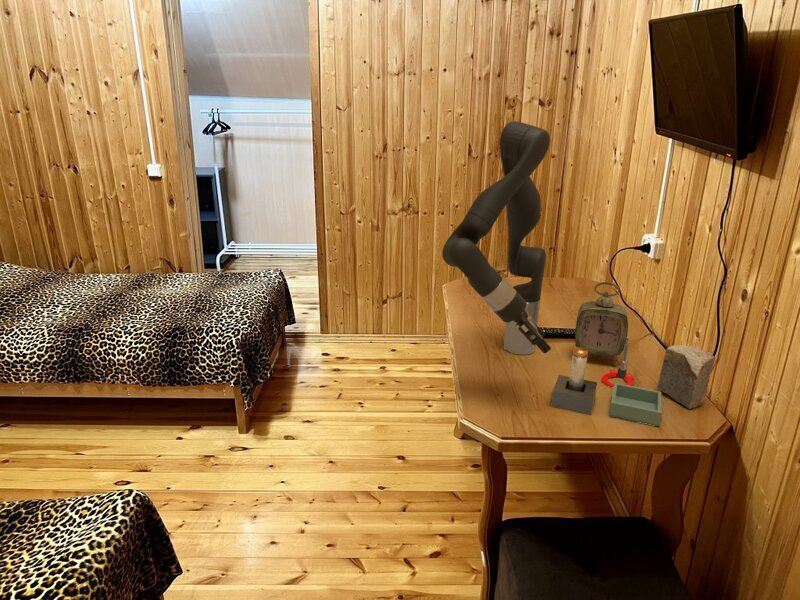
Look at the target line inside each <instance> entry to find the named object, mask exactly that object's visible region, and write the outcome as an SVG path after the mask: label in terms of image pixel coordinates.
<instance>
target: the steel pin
mask: <svg viewBox="0 0 800 600" xmlns="http://www.w3.org/2000/svg"><path fill="white" fill-rule="evenodd" d="M572 349H573V350H572V357H571V366H570V371H569V377H570V378H569V385H568V389H569V390H574V391H579V392H582V389H583V382H584V380H585V374H586V368H587V361H588V354H589V353H588V350H587V349H585V348H582V347H576V346H575V347H574V348H572Z"/></svg>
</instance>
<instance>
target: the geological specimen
mask: <svg viewBox="0 0 800 600" xmlns="http://www.w3.org/2000/svg"><path fill="white" fill-rule="evenodd" d="M663 357H664V358H663V362H662V366H661V370H660V374H659V378H658V382H657V389H659V391H660V392H661V393H664V394H667V395H668V396H670V397H671V399H673V400H675V401H676V402H677V403H679V404H681V405H683V406H685V407H686V408H687V409H689V410H691V409H693V408H696V407H699V406H701V405H702V404H704V402H705V398H706V394H707V390H708V386H709V385H708V384H709V382H710V379H711V376H710V374H712V371H713V367H714V363H715V360H716V356H714V355H713V353H711V352H709V351H706V350H703V348H701V347H696V346H694V345H689V346H688V345H684V344H678V345H670V346H669V347H666V350H665V355H664V356H663Z"/></svg>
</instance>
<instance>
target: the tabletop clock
mask: <svg viewBox="0 0 800 600" xmlns="http://www.w3.org/2000/svg"><path fill="white" fill-rule="evenodd" d="M602 285H608V286H613V287H615V288H616V289H617V292H615V293H609V291H607V290H606V291H604V293H603V292H599V291H598V290H597V287H598V286H602ZM593 289H594V291H595V292H596V294H597V295H599V297H598V298H597V299H596V301H595V300H594V301H593V300H591V301H590V300H588V301H584V302H582V303H581V305H580V307H579V309H578V312H577V316H576V321H575V333H574V334H575V335H574V336H575V337H574V343H575V347H582V348H585V349H587V350H588V354H590V355H591V354H592V355H593V356H594V357H595V356H597V357H596V358H598V357H599V356H604V357H605V356H607V357H611V358H612V363H611V364H612V365H613V366H614V367H615V366H618V365H619V362H618V360H616V358H615V357H617V356H621V354H623V349H624V343H625V341H626V337H628V332H629V319H628V312H627V309H626V307H624V306H623V305H621V304H618V303H617V304H616V303H614V300H613V298H611V297H615V296H617V295H618V294H619V293H620V291H621V290H620V286H618V285H617V284H615V283H613V282H608V281H601V282H599V283H597V284H595V286H594V288H593Z"/></svg>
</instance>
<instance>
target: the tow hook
mask: <svg viewBox="0 0 800 600" xmlns="http://www.w3.org/2000/svg"><path fill="white" fill-rule="evenodd" d="M629 339H630V337H629V336H627V337H626V341H625V343H624V349H623V351H622V356H621V360H620V364H619V368H617V370H613V369H610V370H609V372H608V373H605V374H603V375H602V376H601V380H602V381H601V382H603V383H604V384H605V385H604V386H606V385H607V386H606V387H608V386H610V387H614V383H612V382H610V381H609V380H608V379H612V378H620V377H621V379H623V380H624V381H625V382H626V383H625V384H624V385H629V386H634V379H635V375H632V374H628V373H627V372H628V369H627V365H628V362H627V358H628V351H629V344H630V343H629ZM617 376H618V377H617ZM603 383H602V384H603ZM610 387H609V388H610Z"/></svg>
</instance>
